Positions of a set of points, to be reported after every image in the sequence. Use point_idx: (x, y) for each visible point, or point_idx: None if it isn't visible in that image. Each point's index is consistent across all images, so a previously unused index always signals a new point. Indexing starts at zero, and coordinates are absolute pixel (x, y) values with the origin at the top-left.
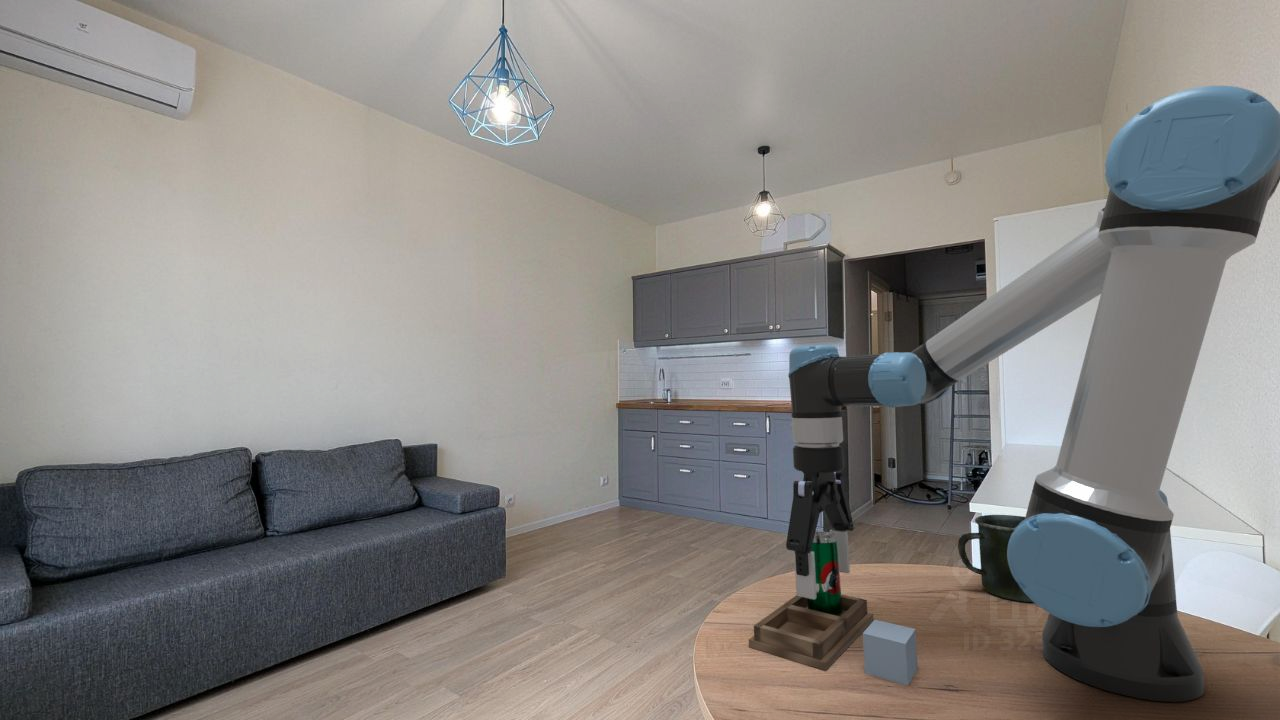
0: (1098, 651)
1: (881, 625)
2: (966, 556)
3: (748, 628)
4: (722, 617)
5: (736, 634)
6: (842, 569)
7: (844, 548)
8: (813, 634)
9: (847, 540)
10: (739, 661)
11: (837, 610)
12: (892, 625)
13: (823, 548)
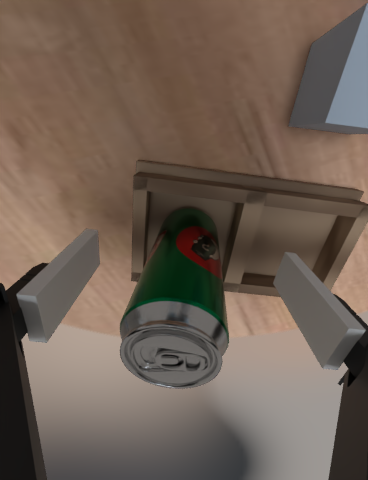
0: None
1: (356, 100)
2: None
3: (253, 303)
4: (233, 334)
5: (276, 308)
6: (95, 245)
7: (68, 267)
8: (268, 230)
9: (45, 274)
10: (349, 285)
11: (204, 215)
12: (351, 73)
13: (224, 313)
